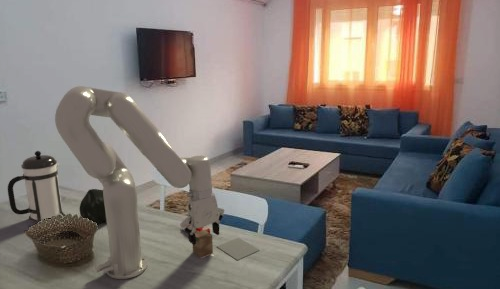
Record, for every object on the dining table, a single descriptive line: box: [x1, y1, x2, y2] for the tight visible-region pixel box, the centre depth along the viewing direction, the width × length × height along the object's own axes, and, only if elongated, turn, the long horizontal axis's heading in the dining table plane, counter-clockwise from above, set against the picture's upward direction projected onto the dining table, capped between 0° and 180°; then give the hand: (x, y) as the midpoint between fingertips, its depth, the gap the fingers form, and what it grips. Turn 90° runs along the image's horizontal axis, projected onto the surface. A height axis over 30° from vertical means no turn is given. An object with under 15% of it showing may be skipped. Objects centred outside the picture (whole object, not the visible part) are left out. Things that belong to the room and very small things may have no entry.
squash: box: [79, 188, 107, 225], centre depth 155 cm, size 14×15×15 cm
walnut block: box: [192, 230, 214, 259], centre depth 128 cm, size 5×5×7 cm
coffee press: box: [7, 150, 66, 224], centre depth 153 cm, size 17×16×30 cm
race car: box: [186, 223, 211, 234], centre depth 144 cm, size 13×5×4 cm, turn 46°
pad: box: [216, 237, 260, 261], centre depth 131 cm, size 10×12×1 cm
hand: (204, 238), depth 128 cm, fingers open, 9 cm apart
